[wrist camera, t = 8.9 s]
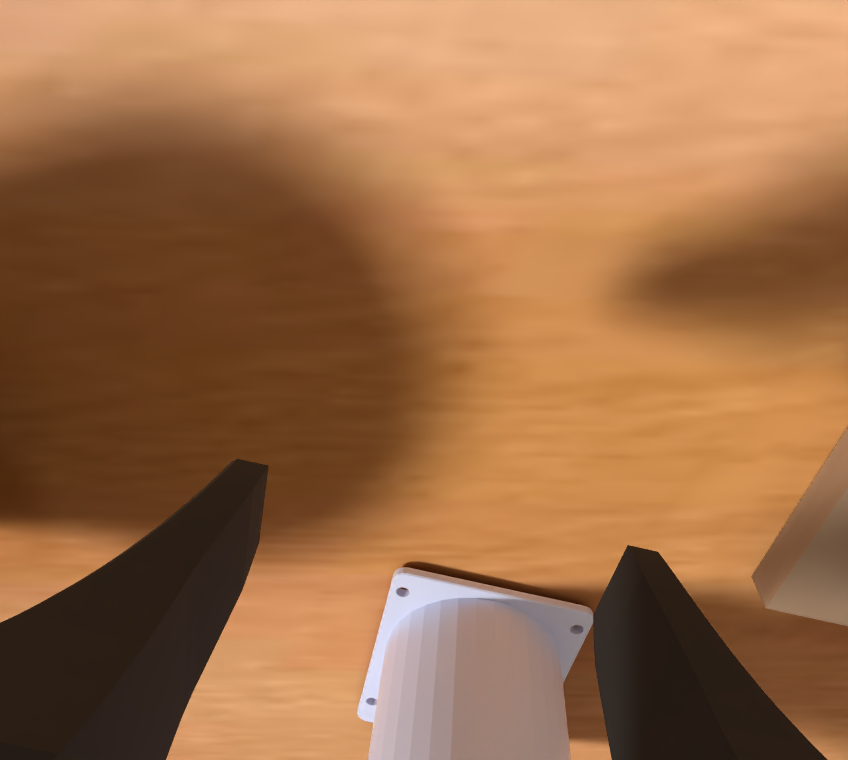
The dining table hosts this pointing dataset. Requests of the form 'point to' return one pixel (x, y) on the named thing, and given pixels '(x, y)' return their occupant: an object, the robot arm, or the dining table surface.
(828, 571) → the ledge board
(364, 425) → the dining table surface
